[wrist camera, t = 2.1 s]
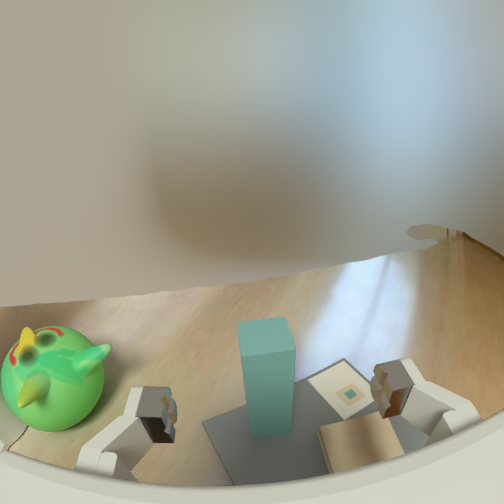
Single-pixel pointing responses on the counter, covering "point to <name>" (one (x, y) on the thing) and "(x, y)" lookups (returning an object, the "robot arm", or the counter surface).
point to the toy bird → (53, 377)
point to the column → (268, 375)
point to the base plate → (315, 432)
